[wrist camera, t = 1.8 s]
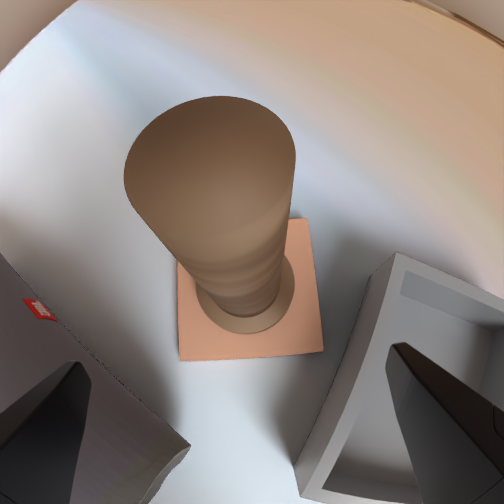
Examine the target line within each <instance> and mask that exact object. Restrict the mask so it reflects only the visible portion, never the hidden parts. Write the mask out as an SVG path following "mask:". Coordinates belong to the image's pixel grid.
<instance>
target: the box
mask: <svg viewBox="0 0 504 504" xmlns="http://www.w3.org/2000/svg"><path fill="white" fill-rule="evenodd" d="M399 342H406V343H408V344H409V345H411V346H412V347H414V348H415V349H416V350H418V351H419V352H421V353H422V354H424V355H425V356H426V357H428V358H429V359H431V360H432V361H434V362H435V363H436V364H438V365H439V366H441V367H442V368H444V369H445V370H446V371H448V372H449V373H451V374H452V375H453V376H455V377H456V378H458V379H459V380H461V381H462V382H463V383H465V384H466V385H468V386H469V387H470V388H472V389H473V390H475V391H476V392H477V393H479V394H480V395H482V396H483V397H484V398H486V399H487V400H489V401H490V402H491V403H493V405H496V406H497V407H499V408H500V409H501V410H503V411H504V300H503V299H501V298H499V297H497V296H495V295H493V294H491V293H489V292H487V291H484V290H482V289H480V288H478V287H476V286H474V285H471V284H469V283H467V282H465V281H463V280H460V279H458V278H456V277H454V276H452V275H449V274H447V273H445V272H442V271H440V270H438V269H436V268H433V267H431V266H429V265H426V264H424V263H422V262H419V261H417V260H415V259H412V258H410V257H407V256H405V255H403V254H400V253H398V252H396V253H395V254H393V255H392V256H391V257H390V258H389V259H388V260H387V261H386V262H385V263H384V264H383V265H382V266H381V267H379V268H378V269H377V270H376V271H375V272H374V273H373V274H372V275H371V276H370V278H369V281H368V284H367V288H366V291H365V294H364V297H363V300H362V303H361V306H360V309H359V313H358V316H357V318H356V321H355V324H354V327H353V330H352V333H351V336H350V338H349V341H348V344H347V347H346V349H345V352H344V355H343V357H342V360H341V363H340V365H339V368H338V370H337V373H336V375H335V378H334V380H333V383H332V385H331V388H330V390H329V392H328V395H327V397H326V399H325V402H324V404H323V406H322V409H321V411H320V413H319V415H318V417H317V420H316V422H315V424H314V426H313V428H312V430H311V433H310V435H309V437H308V439H307V441H306V443H305V445H304V447H303V449H302V451H301V453H300V455H299V457H298V459H297V461H296V463H295V465H294V467H293V469H294V473H295V477H296V482H297V486H298V490H299V495H300V497H302V498H305V499H309V500H313V501H317V502H322V503H326V504H423V501H422V498H421V494H420V491H419V487H418V484H417V480H416V477H415V473H414V470H413V467H412V464H411V460H410V457H409V454H408V451H407V448H406V445H405V442H404V439H403V436H402V433H401V430H400V427H399V424H398V421H397V417H396V414H395V410H394V405H393V401H392V396H391V392H390V388H389V384H388V379H387V375H386V371H385V364H386V360H387V356H388V352H389V348H390V346H391V345H392V344H393V343H399Z"/></svg>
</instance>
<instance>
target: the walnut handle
mask: <svg viewBox="0 0 504 504" xmlns="http://www.w3.org/2000/svg"><path fill="white" fill-rule="evenodd" d="M295 161H296V152H295V146H294V142H293V139H292V136H291V134H290V132H289V130H288V128H287V127H286V125H285V124H284V123H283V121H282V120H281V119H280V118H279V117H278V116H277V115H276V114H274V113H273V112H272V111H270V110H269V109H267V108H266V107H264V106H262V105H260V104H258V103H255V102H253V101H250V100H247V99H243V98H238V97H230V96H211V97H203V98H199V99H194V100H191V101H188V102H185V103H182V104H180V105H177V106H175V107H173V108H171V109H169V110H167V111H166V112H164V113H163V114H161V115H160V116H158V117H157V118H156V119H154V120H153V121H152V122H151V123H150V124H149V125H148V126H147V127H146V128H145V129H144V130H143V131H142V132H141V133H140V135H139V136H138V137H137V139H136V140H135V142H134V143H133V145H132V147H131V149H130V151H129V153H128V156H127V159H126V163H125V168H124V185H125V190H126V193H127V197H128V199H129V201H130V203H131V205H132V206H133V208H134V209H135V210H136V212H137V213H138V214H139V215H140V217H141V218H142V219H143V220H144V221H145V223H146V224H147V225H148V226H149V227H150V229H151V230H152V231H153V232H154V233H155V235H156V236H157V237H158V238H159V239H160V241H161V242H162V243H163V244H164V245H165V246H166V248H167V249H168V250H169V251H170V252H171V253H172V255H173V256H174V257H175V258H176V259H177V260H178V262H179V263H180V264H181V265H182V266H183V267H184V268H185V270H186V271H187V272H188V273H189V274H190V275H191V276H192V277H193V279H194V280H195V281H196V294H197V298H198V301H199V304H200V306H201V308H202V310H203V311H204V313H205V314H206V315H207V316H208V318H210V319H211V320H212V321H213V322H214V323H215V324H217V325H218V326H220V327H221V328H223V329H225V330H227V331H230V332H232V333H237V334H255V333H259V332H262V331H265V330H267V329H269V328H271V327H272V326H274V325H275V324H276V323H278V322H279V321H280V320H281V319H282V317H283V316H284V315H285V313H286V312H287V310H288V308H289V306H290V304H291V301H292V298H293V295H294V289H295V279H294V273H293V269H292V267H291V264H290V262H289V261H288V259H287V257H286V256H285V255H284V252H285V244H286V236H287V229H288V221H289V213H290V205H291V196H292V188H293V179H294V170H295Z"/></svg>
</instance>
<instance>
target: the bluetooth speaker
mask: <svg viewBox="0 0 504 504" xmlns="http://www.w3.org/2000/svg"><path fill="white" fill-rule="evenodd" d="M68 360H75V361H80V362H81V363H82V364H83V366H84V368H85V369H86V371H87V373H88V375H89V376H90V378H91V381H92V388H91V394H90V400H89V406H88V413H87V420H86V426H85V431H84V435H83V439H82V443H81V448H80V452H79V457H78V461H77V466H76V471H75V476H74V481H73V487H72V493H71V499H70V504H148V503H149V502H150V501H151V499H152V498H153V497H154V496H155V494H156V493H157V492H158V490H159V489H160V487H161V485H162V483H163V481H164V480H165V478H166V477H167V475H168V474H169V473H170V471H171V470H172V469H173V468H174V467H175V466H177V465H178V464H179V463H180V462H181V461H182V459H183V458H184V457H185V455H186V454H187V452H188V451H189V449H190V447H191V445H190V444H189V443H188V442H187V441H186V440H185V439H184V438H183V437H182V436H180V435H179V434H178V433H177V432H176V431H174V430H173V429H172V428H171V427H170V426H169V425H168V424H167V423H166V422H164V421H163V420H162V419H161V418H160V417H159V416H158V415H157V414H155V413H154V412H153V411H152V410H151V409H149V408H148V407H147V406H146V405H145V404H144V403H142V402H141V401H140V400H139V399H138V398H137V397H136V396H134V395H133V394H132V393H131V392H130V391H129V390H128V389H127V388H126V387H125V386H123V385H122V384H121V383H120V382H119V381H118V380H117V379H116V378H115V377H114V376H113V375H112V374H111V373H110V372H109V371H108V370H106V369H105V368H104V367H103V366H102V365H101V364H100V363H99V362H98V361H97V360H96V359H95V358H94V357H93V356H92V355H91V354H90V353H89V352H88V351H87V350H86V349H85V348H84V347H83V346H82V345H81V344H80V342H79V341H78V340H77V339H76V338H75V337H74V336H73V335H72V334H71V333H70V332H69V331H68V330H67V329H66V328H65V327H64V326H63V325H62V324H61V323H60V321H59V320H58V319H57V318H56V317H55V316H54V315H53V314H52V313H51V312H50V310H49V309H48V308H47V307H46V306H45V305H44V304H43V303H42V302H41V300H40V299H39V298H38V297H37V296H36V295H35V294H34V292H33V291H32V290H31V289H30V288H29V287H28V285H27V284H26V283H25V282H24V281H23V280H22V279H21V277H20V276H19V275H18V274H17V273H16V271H15V270H14V269H13V268H12V267H11V265H10V264H9V263H8V262H7V261H6V259H5V258H4V257H3V256H2V255H1V253H0V413H1V412H3V411H4V410H5V409H6V408H8V407H9V406H10V405H11V404H13V403H14V402H15V401H16V400H18V399H19V398H20V397H22V396H23V395H24V394H25V393H27V392H28V391H29V390H30V389H32V388H33V387H34V386H36V385H37V384H38V383H39V382H41V381H42V380H43V379H45V378H46V377H47V376H48V375H50V374H51V373H52V372H54V371H55V370H56V369H58V368H59V367H60V366H61V365H63V364H64V363H65V362H67V361H68Z"/></svg>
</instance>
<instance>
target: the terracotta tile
mask: <svg viewBox="0 0 504 504" xmlns="http://www.w3.org/2000/svg"><path fill="white" fill-rule="evenodd" d="M284 255H285V256H286V257H287V259H288V261H289V262H290V264H291V267H292V269H293V273H294V279H295V289H294V295H293V298H292V301H291V304H290V306H289V308H288V310H287V312H286V313H285V315H284V316H283V317H282V319H281V320H280V321H279V322H278V323H276V324H275V325H274V326H272V327H271V328H269V329H267V330H265V331H262V332H259V333H255V334H237V333H232V332H230V331H227V330H225V329H223V328H221V327H220V326H218V325H217V324H215V323H214V322H213V321H212V320H211V319H210V318H208V316H207V315H206V314H205V313H204V311H203V310H202V308H201V306H200V304H199V301H198V298H197V294H196V281H195V280H194V279H193V277H192V276H191V275H190V274H189V273H188V272H187V271H186V270H185V268H184V267H183V266H182V265H181V264H180V263H179V262H178V331H179V356H180V361H207V360H231V359H248V358H262V357H274V356H285V355H296V354H305V353H314V352H322V351H324V347H323V337H322V327H321V318H320V309H319V300H318V292H317V284H316V276H315V268H314V261H313V254H312V247H311V240H310V233H309V226H308V220H307V218H299V219H289V221H288V229H287V236H286V244H285V252H284Z"/></svg>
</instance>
